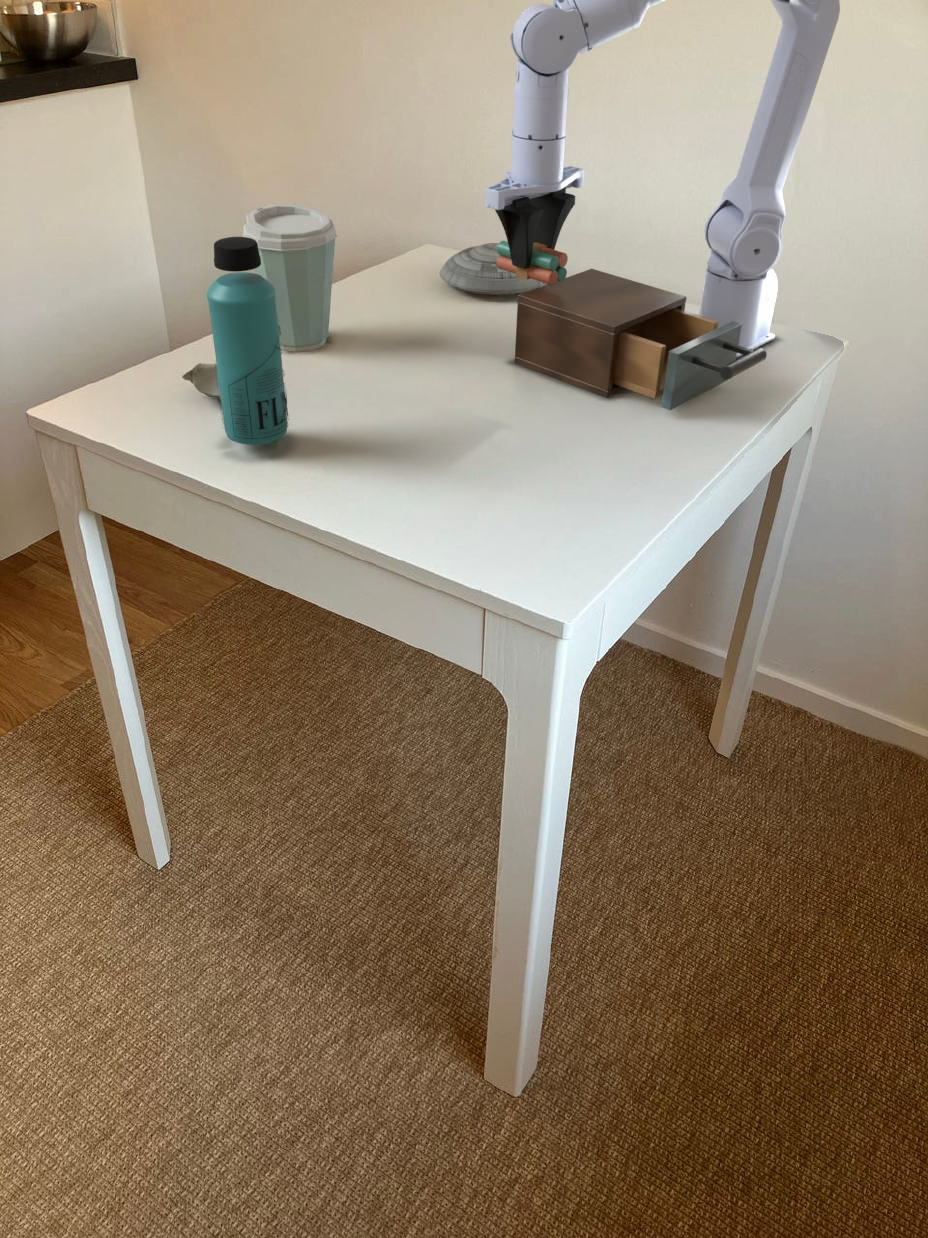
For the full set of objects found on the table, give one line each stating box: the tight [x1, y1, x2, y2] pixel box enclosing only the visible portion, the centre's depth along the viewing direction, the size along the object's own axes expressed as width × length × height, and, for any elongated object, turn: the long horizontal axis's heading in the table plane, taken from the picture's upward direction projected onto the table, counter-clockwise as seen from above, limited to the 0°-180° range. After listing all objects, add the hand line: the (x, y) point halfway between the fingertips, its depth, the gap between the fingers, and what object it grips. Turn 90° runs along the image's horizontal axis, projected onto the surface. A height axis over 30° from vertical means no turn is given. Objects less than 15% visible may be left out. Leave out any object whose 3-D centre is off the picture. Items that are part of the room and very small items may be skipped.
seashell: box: [181, 362, 221, 400], centre depth 113 cm, size 8×3×8 cm
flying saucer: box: [439, 242, 545, 296], centre depth 143 cm, size 15×15×6 cm
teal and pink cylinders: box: [497, 240, 569, 285], centre depth 120 cm, size 8×3×3 cm, turn 46°
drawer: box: [613, 308, 768, 411], centre depth 114 cm, size 17×12×6 cm
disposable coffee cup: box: [242, 203, 338, 353], centre depth 122 cm, size 11×11×15 cm
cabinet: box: [514, 268, 687, 399], centre depth 120 cm, size 14×14×8 cm
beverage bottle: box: [206, 236, 290, 446], centre depth 98 cm, size 6×7×20 cm
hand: (531, 262), depth 120 cm, fingers closed on teal and pink cylinders, 3 cm apart
